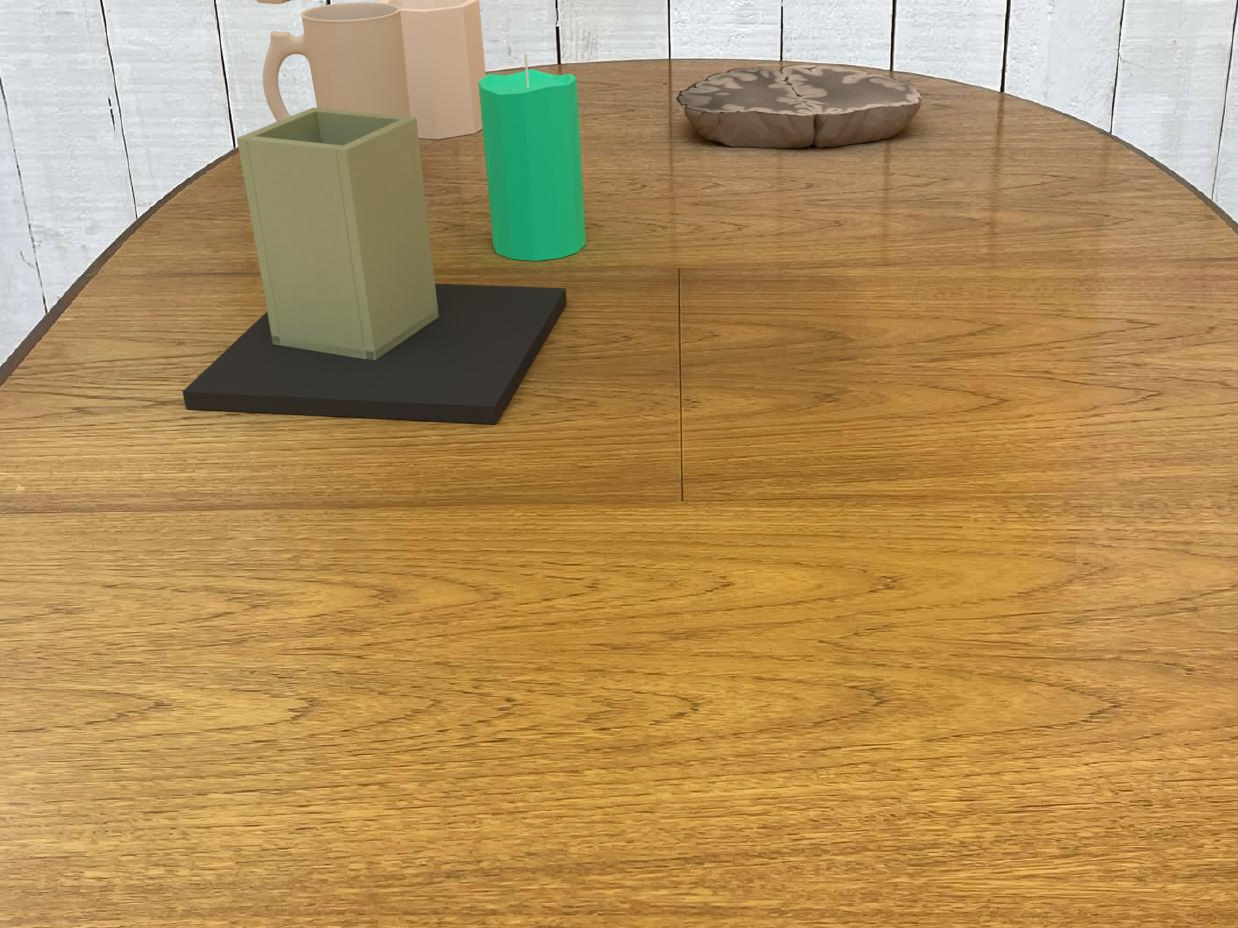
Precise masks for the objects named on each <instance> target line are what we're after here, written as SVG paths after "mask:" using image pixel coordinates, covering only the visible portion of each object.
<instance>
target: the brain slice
mask: <svg viewBox="0 0 1238 928" xmlns="http://www.w3.org/2000/svg"><path fill="white" fill-rule="evenodd" d="M922 99H923V95H922V93H921V91H919V90H918V88H917V87H916V86H915V85H914V84H913V83H912V82H910V81H909V80H908V79H904V78H894V77H891V76H888V75H884V74H882V73H874V72H868V71H866V70H861V69H856V68H855V69H854V68H846V67H841V66H834V65H817V64H803V63H801V64H790V65H785V66H782V67H781V68H779V69H777V68H772V67H765V66H763V67H762V66H756V67H739V68H738V67H737V68H733V69H729V70H727V71H725V72H716V73H712V74H709V75H708V76H705V77H704V80H703V79H702V80H699V81H695V82H694V83H692V84H691V85H690V86H688V87H686V88H685V89H681V90H680V91H678V95H677V96H676V97H675V100H676V101H677V102H678V104H679V105H680V106H681V107H683V113H684V115H685V117H686V118H687V120H688V121H690V122H691V123H692V124H693V125H694V126H695V127H696V130H697V132H698V133H699V134H700V135H701V136H702V137H703V138H704V139H706V140H707V141H709V142H715V143H719V144H723V145H725V146H727V147H735V148H738V147H739V148H767V149H798V148H799V149H801V148H809V147H811V146H815V147H816V148H820V149H821V148H836V147H838V148H839V147H842V146H847V145H854V144H856V145H857V144H865V143H869V142H878V141H883V140H888V139H891V137H894V136H895V135H896V134H897V133H899V132H900V131H902V130H903V129H904V128H905V127H906V125H908V124H910V123H911V121H912V120H913V119H914V118H915V117H916V115H917V114H918V112H919V110H920V109H921V105H922Z"/></svg>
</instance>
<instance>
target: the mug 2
mask: <svg viewBox="0 0 1238 928" xmlns="http://www.w3.org/2000/svg"><path fill="white" fill-rule="evenodd" d="M375 2H376V3H387V4H392V5H396V6H398V7H400V8H401V11H400V17H401V25H402V34H403V44H404V54H405V65H406V76H407V87H408V98H409V108H410V117H415V118H416V119H417V128H418V137H419V139H426V140H443V139H450V138H456V137H461V136H468V135H474V134H476V133H478V132H479V131H481V130H483V129H482V117H481V106H480V95H479V84H478V82H479V81H480V80H481V79H483V78H484V77H485V76H486V75H487V74H486V63H485V51H484V40H483V32H482V31H483V29H482V19H481V18H482V17H481V7H480V0H377V1H375Z"/></svg>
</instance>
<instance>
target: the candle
mask: <svg viewBox="0 0 1238 928" xmlns="http://www.w3.org/2000/svg"><path fill="white" fill-rule="evenodd" d="M523 55H524V68H525V70H523V71H519V72H515V73H510V74H491V73H490V74H488V73H487V74H486V76H485V77H484V78H483V79H481V80H480V81H479V82H478V84H479V95H480V106H481V117H482V129H481V130H482V138H483V149H484V151H483V152H484V161H485V172H486V183H487V195H488V204H489V216H490V217H489V218H490V227H491V239H492V246H493V249H494V251H495V253H496V254H497V255H500V256H502V257H506V258H508V259H511V260H520V261H530V262H531V261H532V262H537V261H545V260H556V259H562V258H566V257H568V256H571V255H574V254H577V253H579V252H580V251H581V250H582V249H583V248H584V247H585V246H586V245H587V241H586V225H585V224H586V221H585V205H584V189H583V188H584V187H583V169H582V152H581V151H582V150H581V133H580V131H581V130H580V115H579V113H580V112H579V98H578V79H577V77H576V76H575V75H574V74H573V73H565V74H557V75H555V74H551V73H547V72H544V71H540V70H536V69H533V68H530V69H529V68H528V67H529V66H528V65H529V64H528V53H524V54H523Z"/></svg>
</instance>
